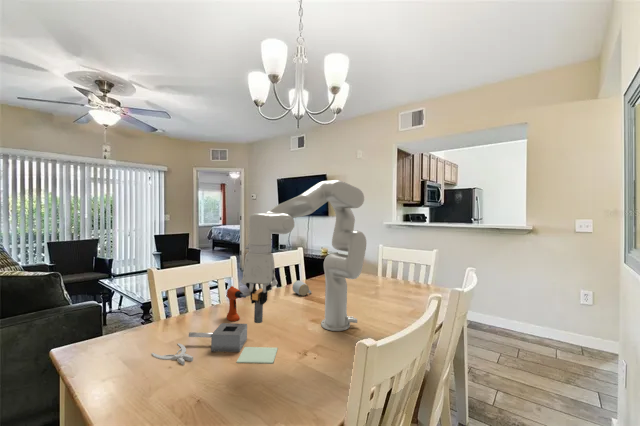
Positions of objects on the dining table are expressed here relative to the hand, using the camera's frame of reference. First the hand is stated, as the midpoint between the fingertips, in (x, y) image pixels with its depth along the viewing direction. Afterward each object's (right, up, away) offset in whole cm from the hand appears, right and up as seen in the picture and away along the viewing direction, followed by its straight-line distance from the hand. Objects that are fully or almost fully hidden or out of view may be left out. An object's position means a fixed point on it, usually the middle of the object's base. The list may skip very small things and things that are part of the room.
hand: (258, 302), depth 98 cm
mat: (0, -18, 0) cm, 18 cm away
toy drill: (-16, -18, +29) cm, 38 cm away
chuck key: (0, -7, 0) cm, 7 cm away
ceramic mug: (+11, -18, +73) cm, 76 cm away
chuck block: (-17, -18, +7) cm, 26 cm away
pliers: (-28, -18, -1) cm, 34 cm away
